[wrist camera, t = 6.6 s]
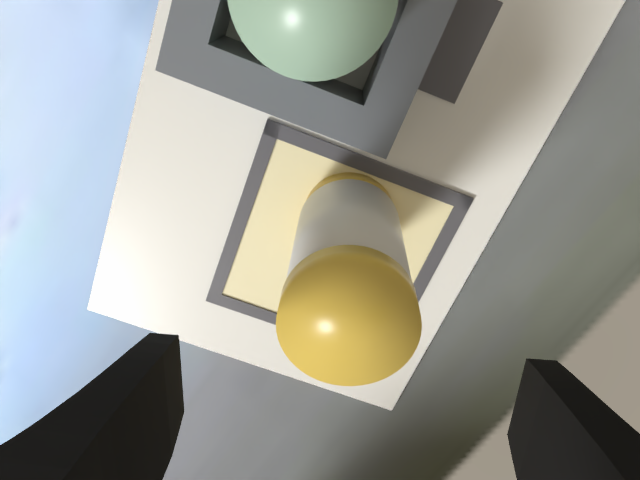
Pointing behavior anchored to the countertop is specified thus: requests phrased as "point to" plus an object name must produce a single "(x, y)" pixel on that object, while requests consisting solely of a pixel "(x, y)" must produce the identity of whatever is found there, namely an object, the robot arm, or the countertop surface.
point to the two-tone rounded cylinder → (348, 286)
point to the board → (326, 160)
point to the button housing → (307, 96)
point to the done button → (313, 34)
